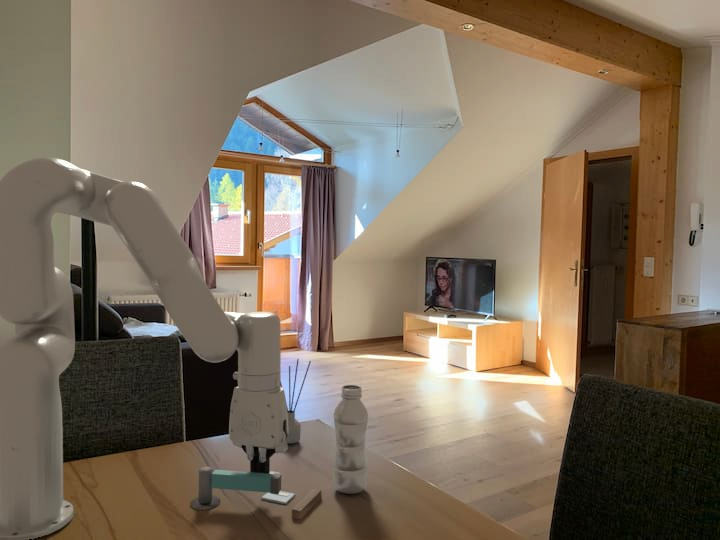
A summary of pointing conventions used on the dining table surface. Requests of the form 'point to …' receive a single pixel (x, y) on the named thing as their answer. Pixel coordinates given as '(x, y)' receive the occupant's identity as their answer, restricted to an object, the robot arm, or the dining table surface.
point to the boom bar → (235, 482)
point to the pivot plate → (206, 506)
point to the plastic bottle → (350, 442)
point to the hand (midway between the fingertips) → (260, 479)
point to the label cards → (278, 496)
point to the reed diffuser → (293, 424)
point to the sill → (306, 504)
